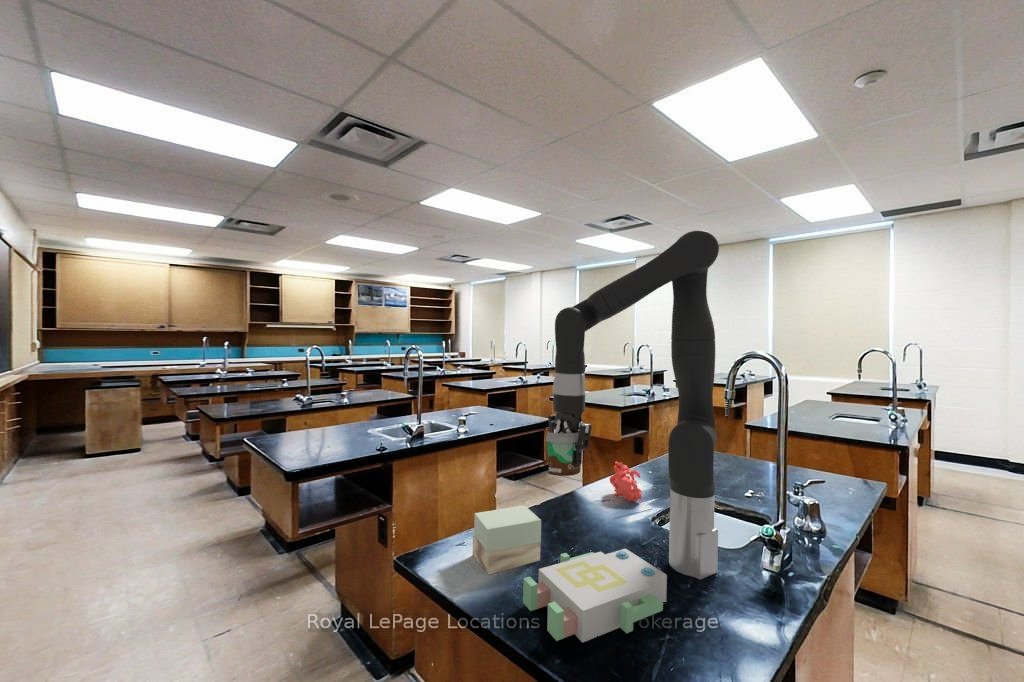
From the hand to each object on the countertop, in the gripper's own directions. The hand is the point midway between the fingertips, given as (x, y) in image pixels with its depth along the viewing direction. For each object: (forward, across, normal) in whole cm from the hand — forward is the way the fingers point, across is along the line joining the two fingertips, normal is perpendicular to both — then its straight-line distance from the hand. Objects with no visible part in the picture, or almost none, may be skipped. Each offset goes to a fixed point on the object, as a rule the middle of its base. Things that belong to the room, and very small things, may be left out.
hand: (567, 462), depth 101 cm
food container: (+2, -1, 0) cm, 3 cm away
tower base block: (+22, +5, +14) cm, 26 cm away
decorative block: (+22, -18, +7) cm, 30 cm away
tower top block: (+17, +4, +14) cm, 22 cm away
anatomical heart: (+22, +19, -38) cm, 48 cm away
